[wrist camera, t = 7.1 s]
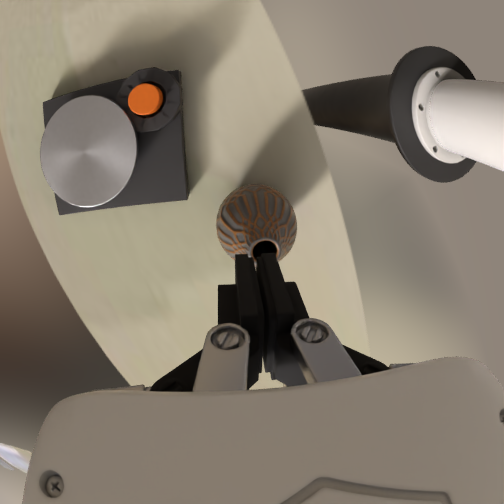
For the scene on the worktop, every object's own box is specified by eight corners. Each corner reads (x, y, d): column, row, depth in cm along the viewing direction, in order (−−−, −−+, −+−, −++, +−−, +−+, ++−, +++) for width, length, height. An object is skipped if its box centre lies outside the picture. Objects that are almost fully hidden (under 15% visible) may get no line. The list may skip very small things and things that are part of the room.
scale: (183, 69, 21) (179, 63, 18) (191, 195, 27) (188, 205, 24) (49, 99, 20) (33, 100, 17) (65, 210, 26) (52, 221, 23)
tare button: (162, 82, 19) (158, 80, 18) (164, 112, 20) (160, 112, 19) (132, 87, 19) (127, 86, 18) (134, 116, 20) (128, 117, 19)
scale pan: (134, 84, 19) (132, 84, 18) (145, 198, 23) (143, 200, 23) (38, 111, 18) (35, 111, 17) (53, 211, 22) (50, 213, 22)
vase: (283, 172, 27) (310, 199, 19) (288, 237, 30) (312, 284, 22) (211, 183, 26) (207, 215, 19) (222, 247, 30) (225, 298, 22)
